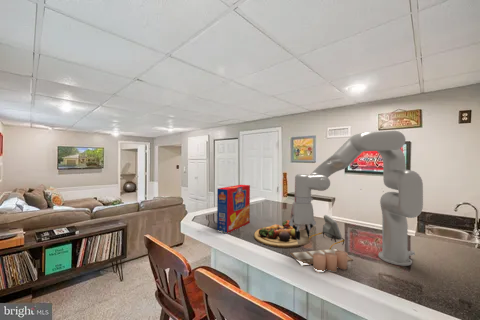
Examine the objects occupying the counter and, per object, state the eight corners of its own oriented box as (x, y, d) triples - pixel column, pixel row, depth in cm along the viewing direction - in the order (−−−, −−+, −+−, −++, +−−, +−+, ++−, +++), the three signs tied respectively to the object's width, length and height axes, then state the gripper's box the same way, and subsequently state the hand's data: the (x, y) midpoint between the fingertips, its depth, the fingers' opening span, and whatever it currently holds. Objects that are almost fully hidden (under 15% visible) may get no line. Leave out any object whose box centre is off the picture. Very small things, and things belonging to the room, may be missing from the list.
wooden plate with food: (274, 226, 149) (274, 214, 149) (317, 237, 126) (317, 223, 126) (243, 238, 126) (242, 225, 126) (289, 255, 103) (288, 238, 103)
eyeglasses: (345, 246, 114) (345, 238, 114) (328, 251, 107) (328, 244, 107) (323, 237, 127) (323, 231, 127) (307, 242, 119) (307, 235, 119)
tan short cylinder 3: (342, 263, 94) (342, 249, 94) (350, 268, 90) (350, 254, 90) (332, 264, 93) (332, 250, 93) (340, 269, 88) (340, 255, 89)
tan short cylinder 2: (331, 265, 92) (332, 251, 92) (339, 271, 87) (339, 257, 87) (321, 266, 91) (321, 252, 91) (329, 272, 86) (329, 258, 86)
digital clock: (342, 240, 122) (342, 221, 122) (326, 238, 124) (326, 220, 124) (336, 231, 138) (336, 214, 138) (321, 229, 140) (321, 214, 140)
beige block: (305, 244, 100) (302, 231, 103) (309, 242, 97) (306, 229, 100) (298, 245, 99) (295, 232, 102) (301, 243, 96) (298, 230, 99)
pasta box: (227, 234, 131) (227, 189, 131) (217, 231, 135) (217, 188, 135) (249, 223, 154) (249, 185, 155) (240, 221, 159) (240, 184, 159)
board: (335, 249, 109) (335, 247, 109) (353, 260, 97) (353, 258, 97) (289, 254, 103) (289, 252, 103) (301, 266, 91) (301, 263, 91)
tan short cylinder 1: (321, 266, 92) (321, 252, 92) (328, 272, 87) (328, 257, 87) (310, 267, 91) (310, 253, 91) (317, 273, 86) (317, 258, 86)
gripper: (314, 198, 105) (313, 234, 105) (283, 199, 102) (282, 236, 102) (323, 201, 98) (322, 240, 98) (289, 202, 94) (289, 242, 94)
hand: (302, 238), depth 100 cm, fingers closed on beige block, 4 cm apart
